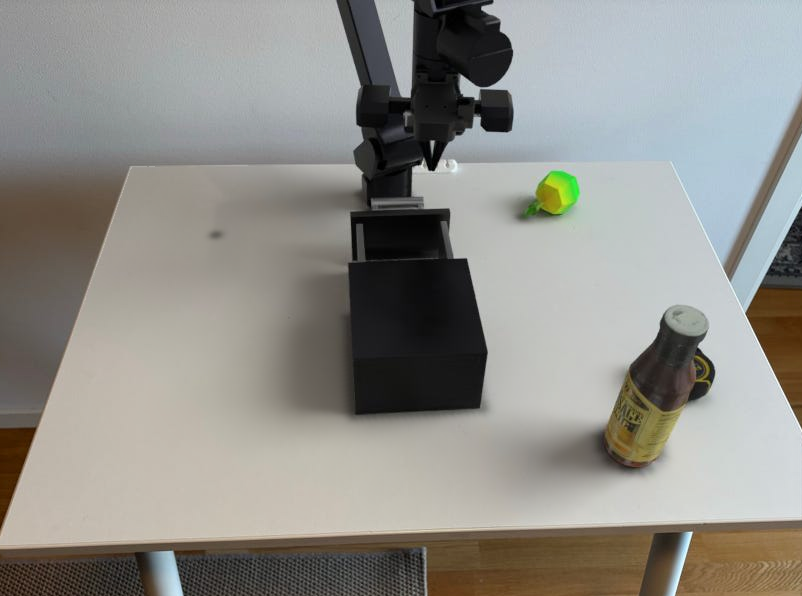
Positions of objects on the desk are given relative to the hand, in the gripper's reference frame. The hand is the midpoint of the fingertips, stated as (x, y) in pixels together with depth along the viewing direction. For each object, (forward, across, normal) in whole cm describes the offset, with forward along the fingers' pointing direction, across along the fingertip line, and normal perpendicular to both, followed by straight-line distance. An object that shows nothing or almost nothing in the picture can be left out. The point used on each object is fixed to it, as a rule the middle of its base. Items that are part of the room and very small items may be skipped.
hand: (431, 169), depth 96 cm
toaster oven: (+12, -2, -23) cm, 26 cm away
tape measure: (+12, +29, -25) cm, 40 cm away
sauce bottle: (+12, +22, -35) cm, 43 cm away
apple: (+12, +18, +8) cm, 23 cm away
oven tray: (+11, -3, -9) cm, 14 cm away
